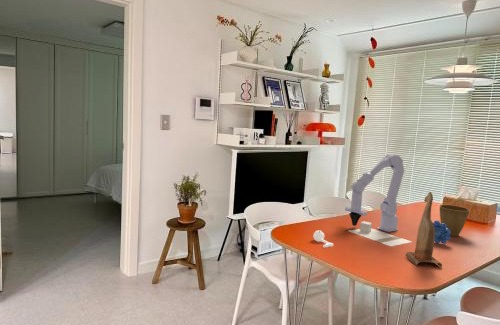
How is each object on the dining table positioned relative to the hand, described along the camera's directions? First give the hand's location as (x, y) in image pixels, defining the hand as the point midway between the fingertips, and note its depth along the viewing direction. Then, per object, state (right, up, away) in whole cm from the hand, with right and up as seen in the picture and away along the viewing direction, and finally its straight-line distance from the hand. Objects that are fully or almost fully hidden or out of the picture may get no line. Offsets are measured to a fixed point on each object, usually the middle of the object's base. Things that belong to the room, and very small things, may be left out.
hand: (354, 225), depth 205 cm
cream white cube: (+4, -2, -7) cm, 8 cm away
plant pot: (+55, -5, -3) cm, 55 cm away
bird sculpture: (+15, -8, -50) cm, 53 cm away
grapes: (+37, -6, -21) cm, 43 cm away
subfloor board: (+9, -3, -14) cm, 17 cm away
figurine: (-26, -4, -32) cm, 41 cm away
